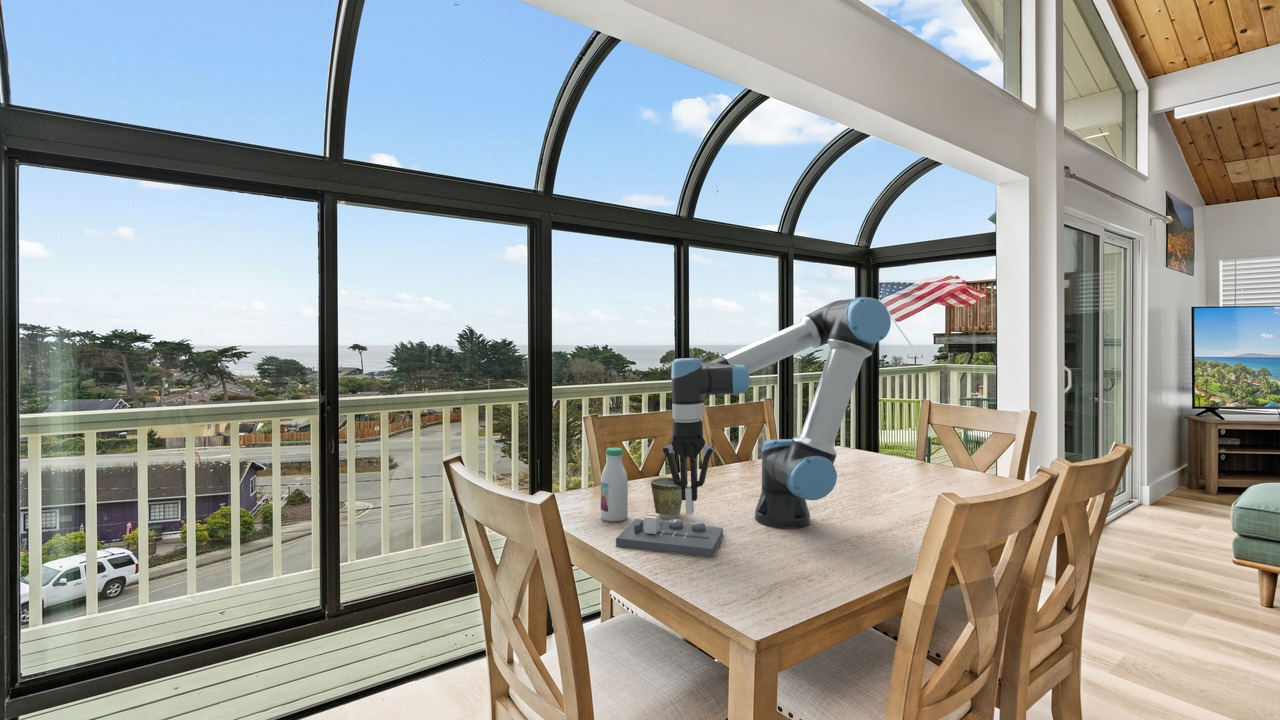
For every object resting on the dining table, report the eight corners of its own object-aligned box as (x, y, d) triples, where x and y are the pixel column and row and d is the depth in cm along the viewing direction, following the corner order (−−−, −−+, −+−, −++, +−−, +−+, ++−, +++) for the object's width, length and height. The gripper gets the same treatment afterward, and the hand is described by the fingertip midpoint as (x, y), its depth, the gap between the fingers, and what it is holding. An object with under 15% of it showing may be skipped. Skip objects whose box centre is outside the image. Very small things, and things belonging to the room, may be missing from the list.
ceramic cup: (679, 522, 163) (679, 486, 163) (645, 518, 166) (646, 483, 166) (691, 509, 175) (691, 476, 175) (660, 506, 179) (660, 473, 178)
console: (722, 535, 152) (723, 520, 152) (712, 557, 137) (712, 540, 137) (635, 526, 159) (635, 511, 159) (615, 546, 144) (616, 530, 144)
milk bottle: (629, 514, 170) (629, 446, 169) (625, 522, 162) (626, 451, 161) (602, 513, 171) (603, 445, 170) (598, 521, 163) (598, 450, 162)
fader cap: (659, 529, 150) (660, 513, 150) (655, 534, 146) (655, 517, 146) (648, 527, 151) (648, 512, 151) (643, 532, 147) (644, 516, 147)
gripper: (715, 418, 147) (718, 510, 148) (665, 417, 151) (668, 507, 152) (710, 422, 140) (713, 519, 141) (658, 421, 144) (661, 515, 145)
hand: (689, 512), depth 147 cm, fingers closed
